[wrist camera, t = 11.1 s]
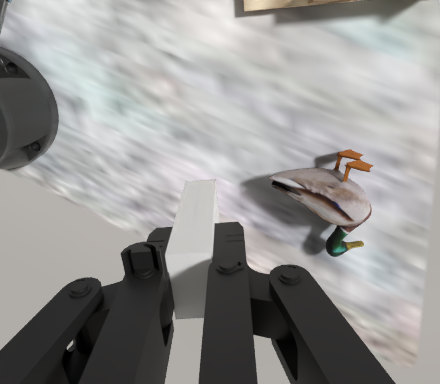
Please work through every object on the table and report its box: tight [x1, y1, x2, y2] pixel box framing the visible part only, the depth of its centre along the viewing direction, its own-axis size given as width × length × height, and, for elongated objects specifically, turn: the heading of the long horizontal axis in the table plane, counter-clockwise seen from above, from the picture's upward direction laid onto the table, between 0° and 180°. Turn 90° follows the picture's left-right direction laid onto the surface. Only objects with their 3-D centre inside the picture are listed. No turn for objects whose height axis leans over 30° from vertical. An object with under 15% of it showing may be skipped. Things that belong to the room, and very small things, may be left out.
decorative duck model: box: [269, 150, 373, 257], centre depth 46 cm, size 15×8×15 cm
